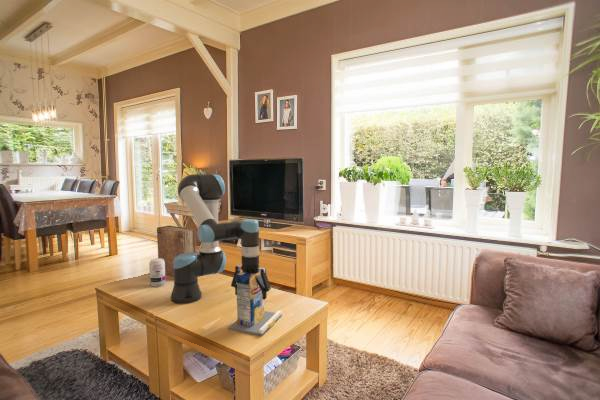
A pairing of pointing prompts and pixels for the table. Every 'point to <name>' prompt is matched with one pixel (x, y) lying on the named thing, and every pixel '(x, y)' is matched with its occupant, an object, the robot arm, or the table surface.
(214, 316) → the table surface
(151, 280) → the supplement can
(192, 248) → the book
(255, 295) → the beverage box
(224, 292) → the table surface
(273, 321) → the grey slab
